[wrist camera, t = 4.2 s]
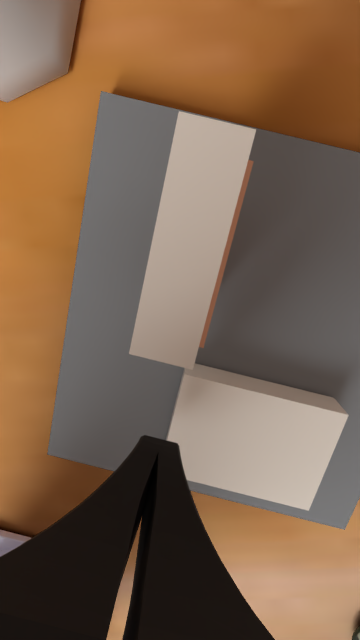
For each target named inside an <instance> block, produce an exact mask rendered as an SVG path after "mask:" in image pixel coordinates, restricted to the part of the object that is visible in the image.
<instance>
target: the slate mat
mask: <svg viewBox="0 0 360 640" xmlns="http://www.w3.org/2000/svg"><path fill="white" fill-rule="evenodd" d="M179 111H181V112H185V113H189V114H193V115H197V116H202V117H206V118H210V119H214V120H218V121H223V122H227V123H231V124H235V125H240V126H244V127H248V128H252V129H256V133H255V137H254V140H253V144H252V148H251V152H250V155H249V159H248V160H251V161H254V162H253V166H252V169H251V173H250V177H249V181H248V184H247V188H246V192H245V195H244V199H243V203H242V207H241V210H240V214H239V218H238V221H237V225H236V229H235V233H234V236H233V240H232V244H231V247H230V251H229V255H228V259H227V262H226V266H225V270H224V273H223V277H222V281H221V285H220V288H219V292H218V296H217V299H216V303H215V307H214V311H213V314H212V318H211V322H210V326H209V329H208V333H207V337H206V340H205V344H204V348H201V347H199V348H198V352H197V356H196V359H195V363H196V364H200V365H204V366H208V367H212V368H216V369H220V370H224V371H228V372H232V373H236V374H240V375H244V376H248V377H252V378H256V379H260V380H264V381H268V382H272V383H276V384H280V385H285V386H289V387H293V388H297V389H301V390H305V391H309V392H313V393H317V394H321V395H325V396H329V397H333V398H334V399H335V400H336V401H337V402H338V403H339V404H340V406H341V407H342V408H343V409H344V410H345V411H346V412H347V414H348V415H349V416H348V418H347V420H346V423H345V425H344V428H343V430H342V432H341V435H340V437H339V440H338V442H337V444H336V447H335V449H334V451H333V454H332V456H331V459H330V461H329V463H328V466H327V468H326V471H325V473H324V475H323V478H322V480H321V483H320V485H319V487H318V490H317V492H316V494H315V497H314V499H313V502H312V504H311V506H310V509H309V511H308V510H304V509H300V508H296V507H292V506H288V505H284V504H280V503H276V502H272V501H268V500H264V499H260V498H256V497H252V496H248V495H244V494H240V493H236V492H232V491H228V490H225V489H221V488H217V487H213V486H209V485H205V484H201V483H197V482H193V481H189V480H187V483H188V486H189V489H190V491H194V492H198V493H202V494H206V495H210V496H214V497H218V498H221V499H225V500H229V501H233V502H237V503H241V504H245V505H249V506H253V507H257V508H261V509H265V510H269V511H273V512H277V513H281V514H285V515H289V516H293V517H297V518H301V519H304V520H308V521H312V522H316V523H320V524H324V525H328V526H332V527H336V528H340V529H344V530H345V528H346V526H347V524H348V522H349V519H350V517H351V515H352V513H353V511H354V509H355V506H356V504H357V502H358V500H359V498H360V153H359V152H355V151H351V150H347V149H343V148H338V147H334V146H330V145H326V144H322V143H317V142H313V141H309V140H305V139H301V138H296V137H292V136H288V135H284V134H279V133H275V132H271V131H267V130H263V129H258V128H254V127H250V126H246V125H242V124H237V123H233V122H229V121H225V120H221V119H216V118H212V117H208V116H204V115H199V114H195V113H191V112H187V111H183V110H178V109H174V108H170V107H166V106H162V105H157V104H153V103H149V102H145V101H141V100H136V99H132V98H128V97H124V96H119V95H115V94H111V93H107V92H103V91H101V95H100V102H99V108H98V115H97V122H96V129H95V135H94V142H93V149H92V156H91V163H90V169H89V176H88V183H87V190H86V196H85V203H84V210H83V217H82V223H81V230H80V237H79V244H78V250H77V257H76V264H75V271H74V278H73V284H72V291H71V298H70V305H69V311H68V318H67V325H66V332H65V338H64V345H63V352H62V359H61V365H60V372H59V379H58V386H57V393H56V399H55V406H54V413H53V420H52V426H51V433H50V440H49V447H48V453H47V454H48V455H52V456H56V457H59V458H63V459H67V460H71V461H75V462H79V463H83V464H87V465H91V466H95V467H99V468H103V469H107V470H111V471H115V470H116V469H117V468H118V467H119V466H120V465H121V464H122V462H123V461H124V460H125V459H126V458H127V457H128V455H129V454H130V453H131V451H132V450H133V449H134V447H135V446H136V444H137V443H138V441H139V439H140V437H141V436H143V435H147V436H151V437H155V438H159V439H163V440H166V437H167V433H168V430H169V426H170V422H171V418H172V414H173V410H174V406H175V402H176V398H177V394H178V391H179V387H180V383H181V379H182V375H183V371H184V368H183V367H179V366H175V365H171V364H167V363H163V362H159V361H155V360H151V359H147V358H143V357H139V356H135V355H131V354H129V351H130V346H131V341H132V336H133V331H134V327H135V322H136V317H137V312H138V307H139V302H140V297H141V293H142V288H143V283H144V278H145V273H146V268H147V263H148V259H149V254H150V249H151V244H152V239H153V234H154V229H155V225H156V220H157V215H158V210H159V205H160V200H161V195H162V190H163V186H164V181H165V176H166V171H167V166H168V161H169V156H170V152H171V147H172V142H173V137H174V132H175V127H176V122H177V118H178V113H179Z"/></svg>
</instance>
